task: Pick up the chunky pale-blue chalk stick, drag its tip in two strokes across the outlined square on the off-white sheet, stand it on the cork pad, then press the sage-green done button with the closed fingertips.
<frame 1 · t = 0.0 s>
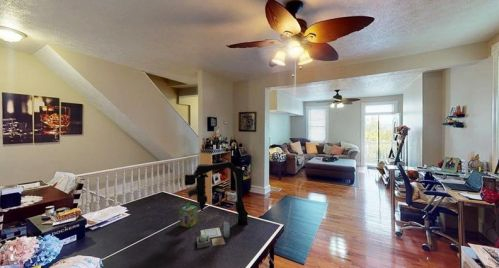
hand: (201, 207, 133), 15 cm above the table, fingers open, 9 cm apart
button housing: (203, 243, 117), on the table
done button: (203, 239, 117), point 3 cm above the table, slide at 0.0 cm
cork pad: (218, 241, 119), on the table
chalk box: (188, 224, 141), on the table
sheet: (210, 233, 128), on the table
chalk stick: (226, 235, 125), on the table
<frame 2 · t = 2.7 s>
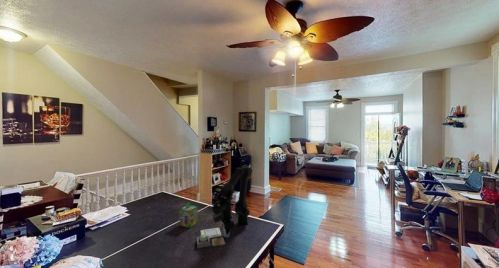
hand: (226, 232, 125), 2 cm above the table, fingers closed on chalk stick, 4 cm apart
chalk stick: (226, 235, 125), on the table, touching gripper
everything else where it was.
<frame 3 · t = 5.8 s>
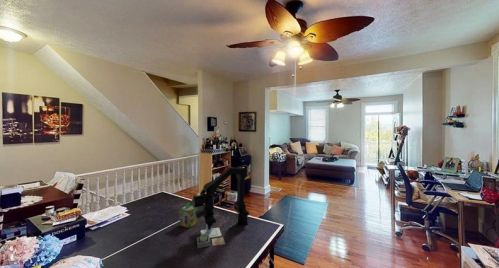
hand: (209, 228, 128), 3 cm above the table, fingers closed on chalk stick, 4 cm apart
chalk stick: (208, 231, 128), point 1 cm above the table, touching gripper
everything else where it was.
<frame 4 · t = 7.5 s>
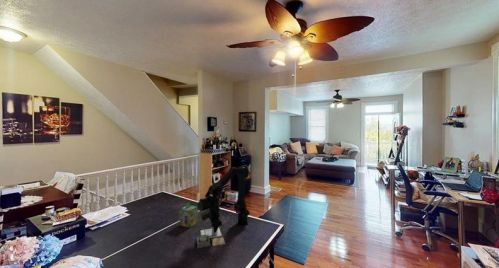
hand: (214, 230, 125), 3 cm above the table, fingers closed on chalk stick, 4 cm apart
chalk stick: (214, 234, 126), point 1 cm above the table, touching gripper
everything else where it was.
when the fingers open (4 cm above the table, at t = 9.0 s): chalk stick drops 1 cm, resting on cork pad.
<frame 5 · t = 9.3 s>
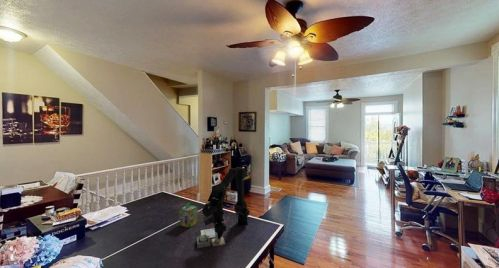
hand: (218, 236, 119), 4 cm above the table, fingers open, 7 cm apart
chalk stick: (218, 241, 119), point 1 cm above the table, touching cork pad
everything else where it was.
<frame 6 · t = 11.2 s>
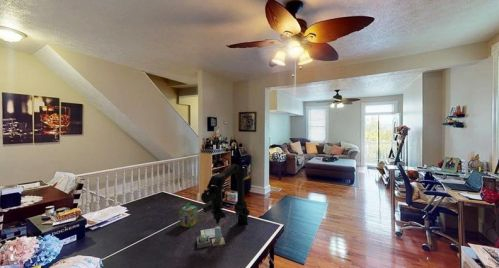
hand: (217, 223, 118), 11 cm above the table, fingers closed
nothing on the table moved.
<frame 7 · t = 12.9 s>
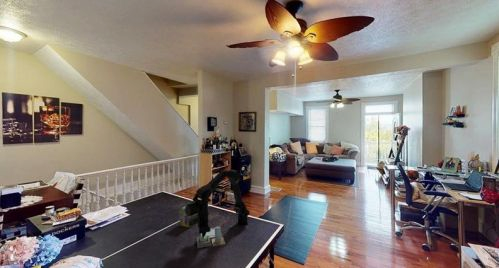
hand: (203, 236, 117), 4 cm above the table, fingers closed, pressing on done button
done button: (203, 239, 117), point 2 cm above the table, slide at 0.3 cm, touching gripper
everything else where it was.
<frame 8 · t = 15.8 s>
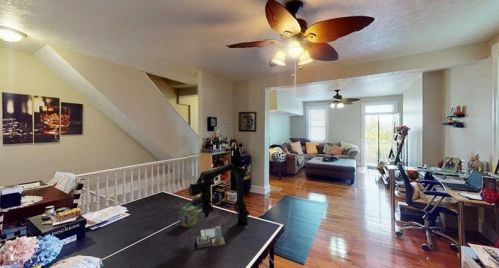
hand: (206, 217, 124), 12 cm above the table, fingers closed
done button: (203, 240, 117), point 2 cm above the table, slide at 0.9 cm
everything else where it was.
at the end: chalk stick inside the target area on the cork pad (0.1 cm from its centre), point 0.5 cm above the cork pad's base; chalk stick tilted 2°; done button slide at 0.9 cm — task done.
